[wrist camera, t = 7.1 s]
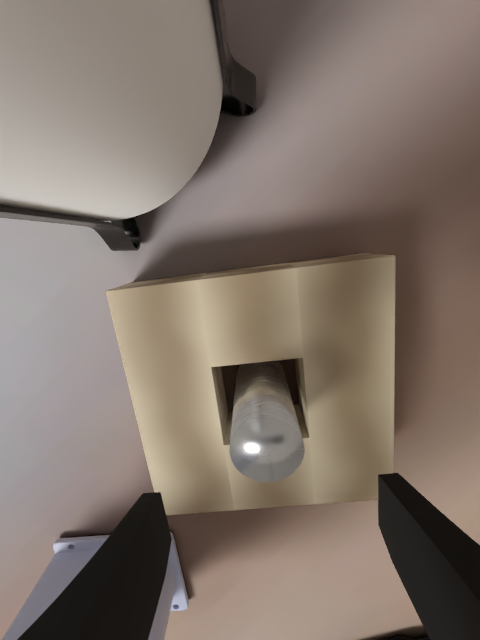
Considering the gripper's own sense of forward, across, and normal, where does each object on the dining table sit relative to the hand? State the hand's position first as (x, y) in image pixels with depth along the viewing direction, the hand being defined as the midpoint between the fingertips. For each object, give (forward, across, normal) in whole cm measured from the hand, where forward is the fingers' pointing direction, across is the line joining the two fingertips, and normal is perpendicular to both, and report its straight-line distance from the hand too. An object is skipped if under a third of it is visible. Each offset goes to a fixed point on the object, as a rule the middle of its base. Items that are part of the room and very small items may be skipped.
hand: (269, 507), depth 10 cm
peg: (+10, 0, 0) cm, 10 cm away
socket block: (+10, 0, 0) cm, 10 cm away
